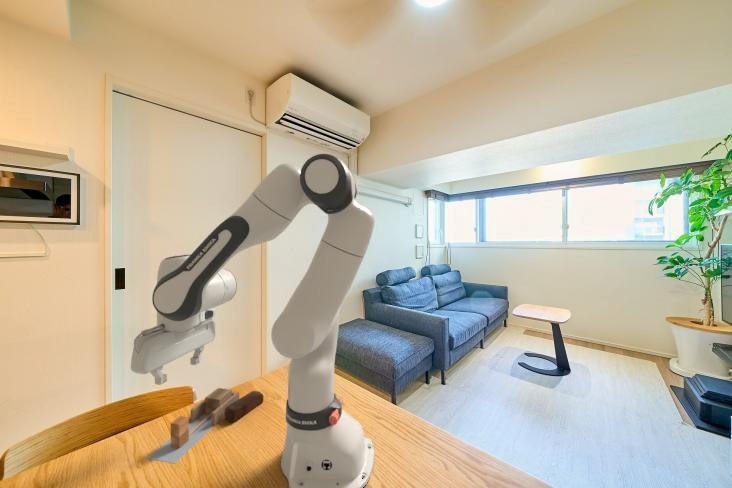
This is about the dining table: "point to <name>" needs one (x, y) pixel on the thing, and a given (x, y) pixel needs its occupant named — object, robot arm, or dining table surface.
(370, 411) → the dining table surface
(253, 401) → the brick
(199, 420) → the shelf lane
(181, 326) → the robot arm
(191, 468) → the dining table surface
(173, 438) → the tethered block
